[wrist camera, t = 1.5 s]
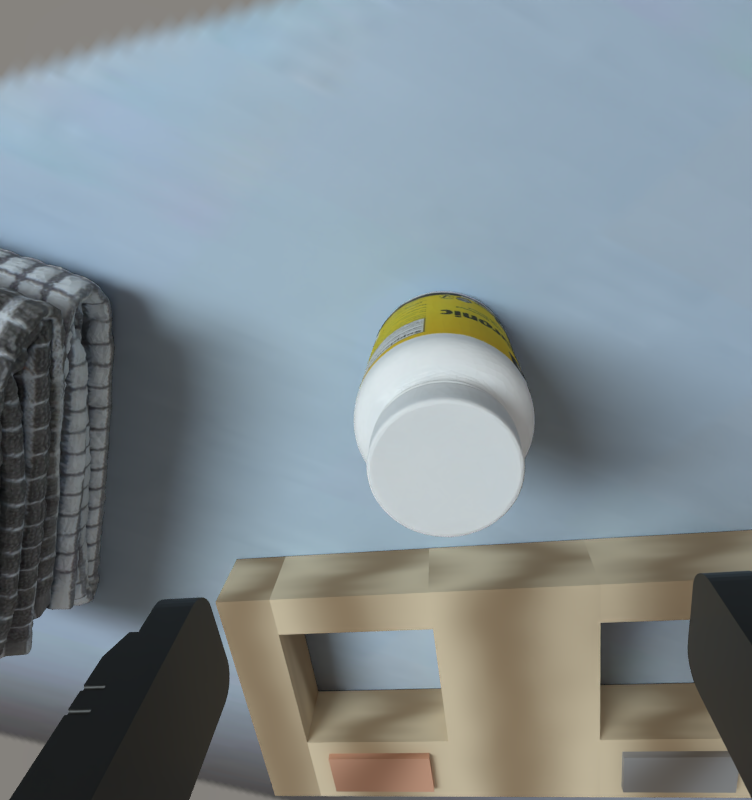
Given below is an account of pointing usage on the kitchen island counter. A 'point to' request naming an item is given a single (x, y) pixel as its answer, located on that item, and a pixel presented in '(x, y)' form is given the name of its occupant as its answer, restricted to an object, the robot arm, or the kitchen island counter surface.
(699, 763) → the socket holder
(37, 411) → the towel
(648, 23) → the kitchen island counter surface
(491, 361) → the supplement bottle
